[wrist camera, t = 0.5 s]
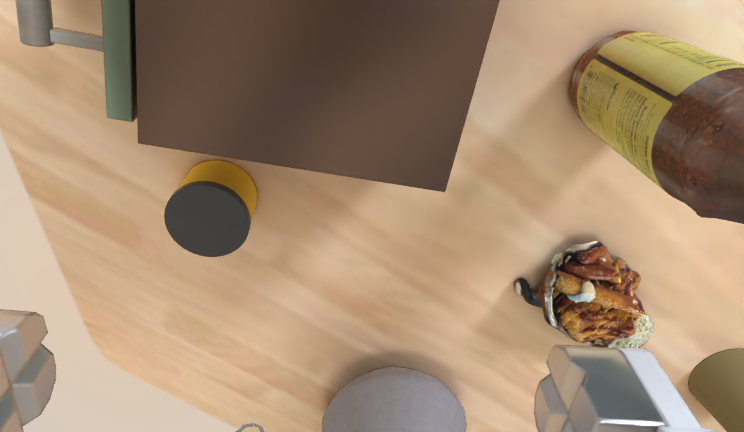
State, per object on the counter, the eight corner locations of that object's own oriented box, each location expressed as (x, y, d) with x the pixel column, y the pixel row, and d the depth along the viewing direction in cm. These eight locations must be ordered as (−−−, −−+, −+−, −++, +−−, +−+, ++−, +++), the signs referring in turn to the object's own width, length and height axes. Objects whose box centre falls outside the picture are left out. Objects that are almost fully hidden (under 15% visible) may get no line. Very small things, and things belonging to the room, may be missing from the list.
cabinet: (187, 88, 33) (137, 143, 25) (193, -164, 27) (130, -189, 19) (425, 129, 34) (445, 192, 27) (482, -99, 28) (528, -99, 21)
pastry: (607, 361, 45) (626, 396, 42) (506, 286, 41) (519, 318, 37) (680, 309, 42) (706, 341, 39) (581, 222, 38) (601, 251, 35)
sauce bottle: (609, 146, 35) (854, 380, 18) (543, 87, 33) (747, 286, 16) (695, 66, 33) (1073, 246, 16) (630, -3, 31) (980, 116, 14)
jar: (182, 152, 35) (164, 178, 31) (262, 165, 35) (252, 192, 32) (181, 220, 37) (164, 251, 34) (255, 230, 38) (246, 262, 34)
